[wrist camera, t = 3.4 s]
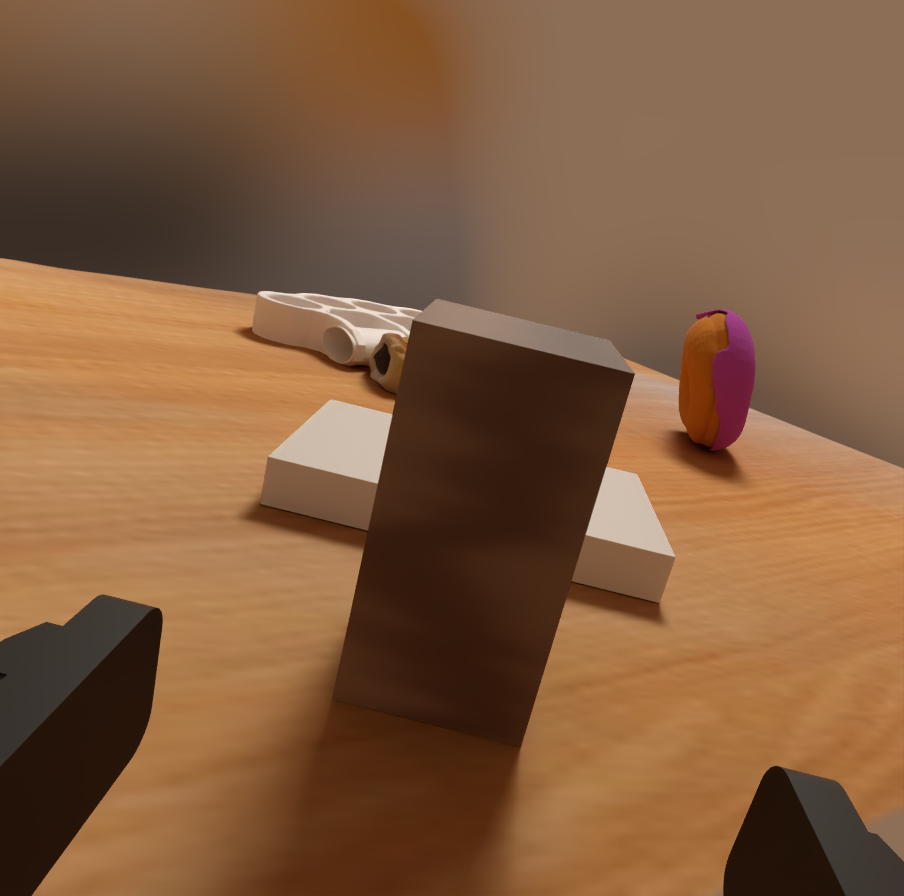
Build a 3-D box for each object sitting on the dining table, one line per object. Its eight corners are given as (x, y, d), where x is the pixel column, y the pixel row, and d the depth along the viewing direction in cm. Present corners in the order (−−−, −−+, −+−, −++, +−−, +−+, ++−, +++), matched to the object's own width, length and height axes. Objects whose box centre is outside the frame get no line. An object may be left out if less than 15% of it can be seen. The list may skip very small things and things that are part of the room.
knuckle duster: (310, 373, 53) (224, 320, 63) (496, 382, 65) (398, 336, 75) (318, 326, 52) (230, 280, 62) (506, 343, 64) (405, 302, 74)
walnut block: (332, 699, 20) (412, 319, 17) (369, 606, 24) (436, 298, 21) (520, 747, 20) (634, 373, 17) (520, 644, 24) (609, 340, 21)
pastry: (475, 389, 59) (487, 341, 58) (510, 417, 53) (524, 365, 52) (360, 372, 56) (370, 321, 54) (384, 401, 50) (396, 344, 49)
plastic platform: (260, 503, 30) (268, 456, 29) (323, 435, 39) (330, 399, 39) (659, 603, 29) (675, 557, 29) (625, 510, 39) (637, 474, 38)
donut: (766, 456, 59) (813, 330, 56) (713, 466, 52) (762, 323, 49) (677, 421, 64) (716, 304, 61) (618, 426, 57) (658, 294, 54)
